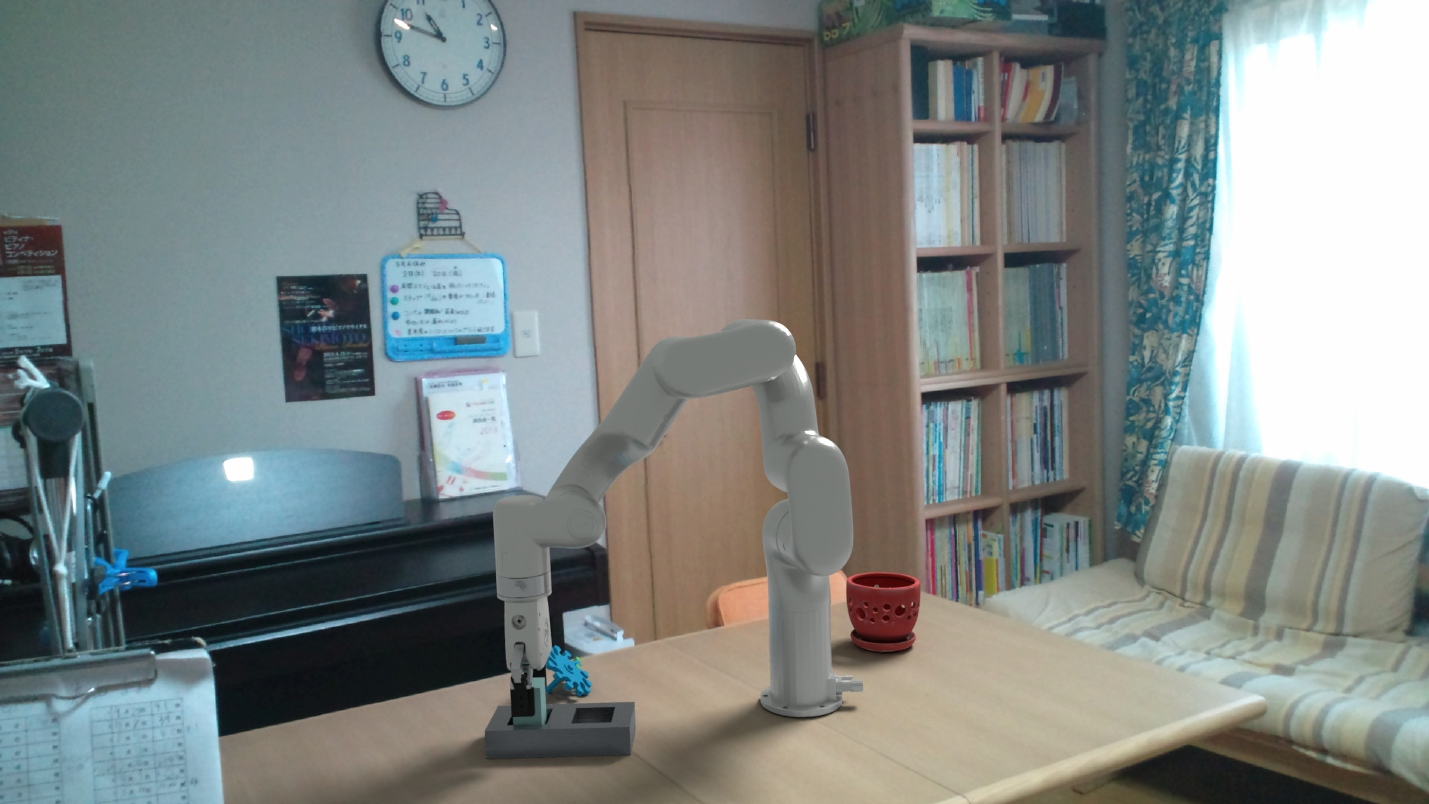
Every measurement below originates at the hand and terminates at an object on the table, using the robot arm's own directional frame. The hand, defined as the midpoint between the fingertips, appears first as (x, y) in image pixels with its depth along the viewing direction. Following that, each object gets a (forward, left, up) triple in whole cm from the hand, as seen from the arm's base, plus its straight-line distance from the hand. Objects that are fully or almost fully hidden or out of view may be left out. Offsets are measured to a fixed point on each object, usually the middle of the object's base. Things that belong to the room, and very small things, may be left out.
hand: (529, 702), depth 146 cm
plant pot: (-56, -38, -6) cm, 69 cm away
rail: (-4, 0, -6) cm, 8 cm away
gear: (-2, -20, -6) cm, 21 cm away
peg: (0, 0, -6) cm, 6 cm away
